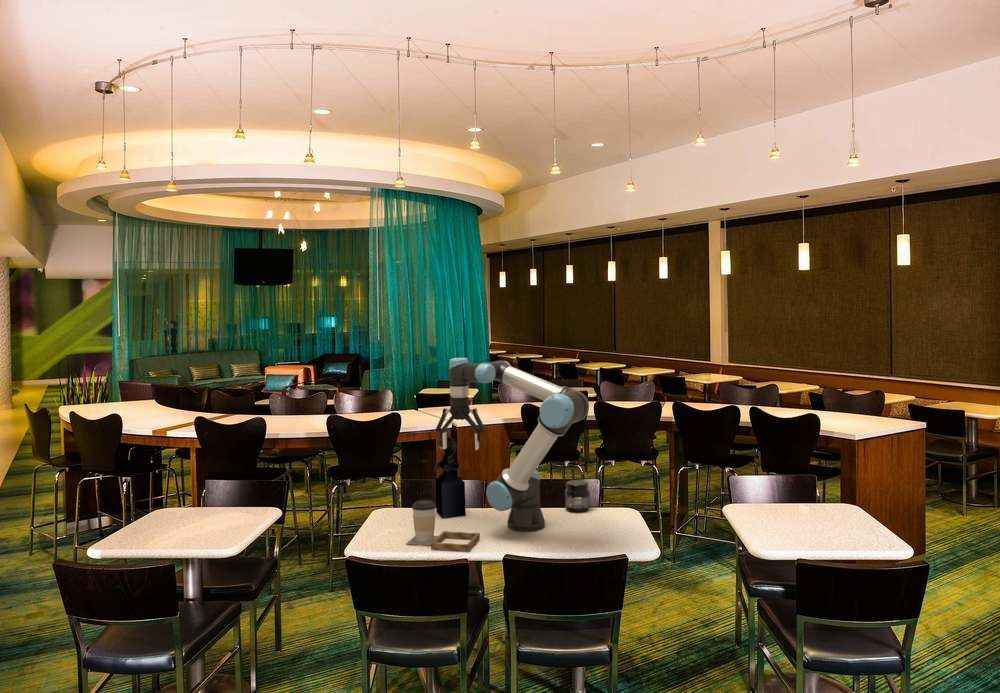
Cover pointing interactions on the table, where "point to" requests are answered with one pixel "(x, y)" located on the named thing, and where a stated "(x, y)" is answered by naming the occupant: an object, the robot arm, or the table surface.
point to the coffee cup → (424, 520)
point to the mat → (414, 542)
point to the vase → (449, 484)
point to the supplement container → (577, 496)
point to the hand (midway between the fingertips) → (460, 449)
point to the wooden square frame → (455, 547)
